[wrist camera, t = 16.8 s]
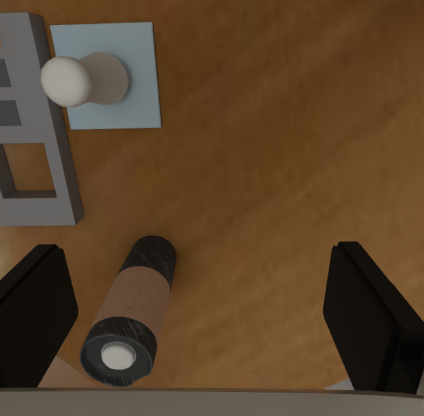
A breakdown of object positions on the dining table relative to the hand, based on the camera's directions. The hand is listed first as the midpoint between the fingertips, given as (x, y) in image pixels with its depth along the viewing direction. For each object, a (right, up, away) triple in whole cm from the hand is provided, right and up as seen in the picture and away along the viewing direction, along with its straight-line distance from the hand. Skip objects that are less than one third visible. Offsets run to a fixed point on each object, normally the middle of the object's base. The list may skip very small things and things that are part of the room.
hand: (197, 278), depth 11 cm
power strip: (-25, +13, +31) cm, 42 cm away
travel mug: (-9, -5, +39) cm, 40 cm away
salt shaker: (-12, +19, +28) cm, 36 cm away
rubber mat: (-12, +19, +28) cm, 36 cm away
